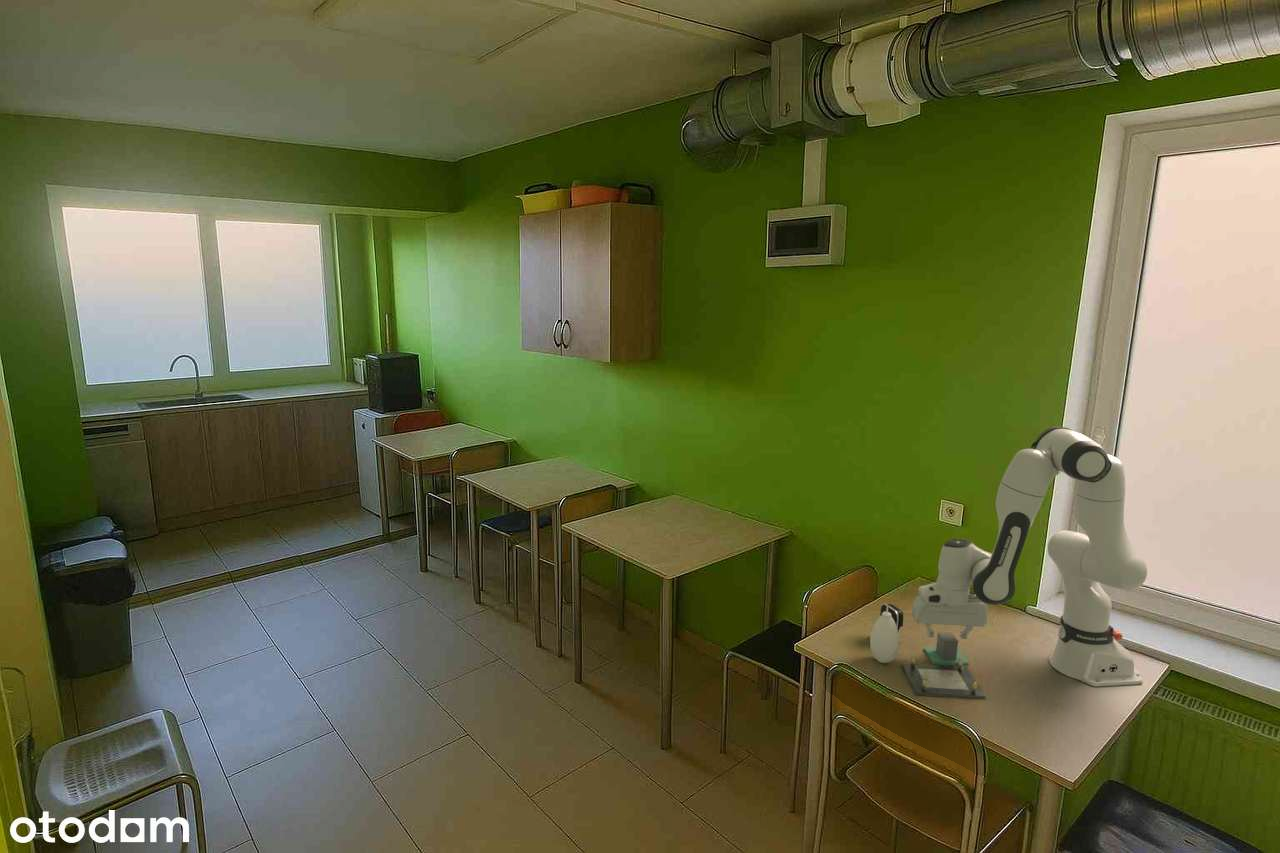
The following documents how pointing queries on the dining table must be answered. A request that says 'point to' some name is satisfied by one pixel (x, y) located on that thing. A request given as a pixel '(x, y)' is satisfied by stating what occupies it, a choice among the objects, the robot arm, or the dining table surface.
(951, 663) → the board
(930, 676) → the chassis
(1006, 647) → the dining table surface
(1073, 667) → the robot arm
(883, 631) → the white air blower bulb
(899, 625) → the battery charger
